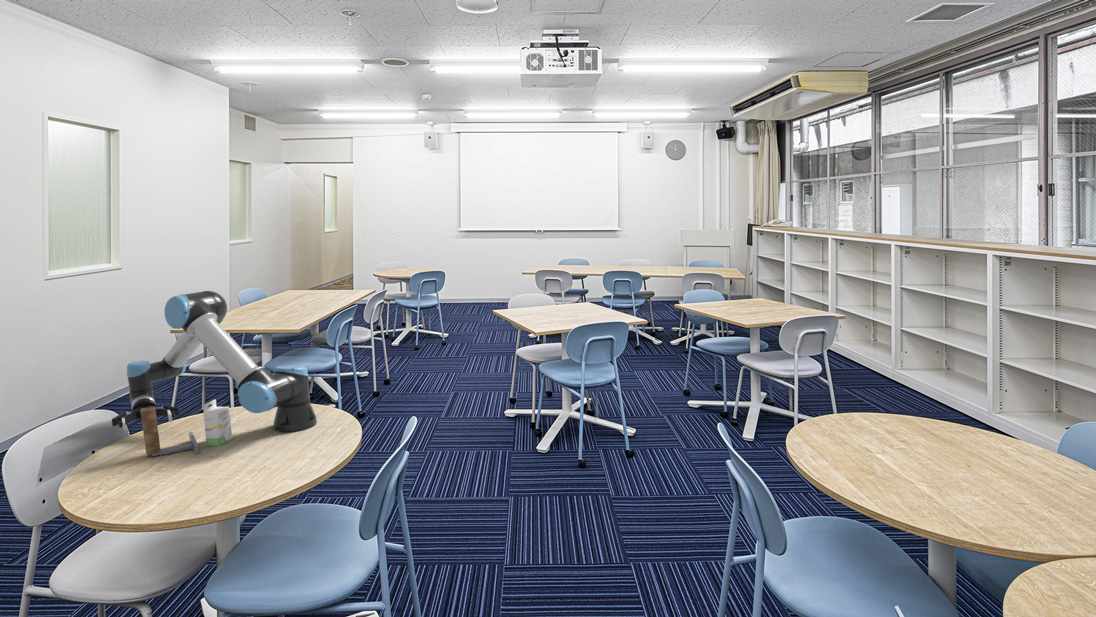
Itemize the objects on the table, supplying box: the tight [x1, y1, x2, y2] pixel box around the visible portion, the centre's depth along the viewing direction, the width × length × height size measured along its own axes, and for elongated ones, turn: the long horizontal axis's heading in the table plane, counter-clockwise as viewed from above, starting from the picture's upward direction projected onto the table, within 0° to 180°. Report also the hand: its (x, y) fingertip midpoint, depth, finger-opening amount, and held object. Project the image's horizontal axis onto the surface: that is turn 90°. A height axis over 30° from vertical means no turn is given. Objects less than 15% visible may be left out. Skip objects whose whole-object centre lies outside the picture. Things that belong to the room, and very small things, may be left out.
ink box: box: [203, 398, 233, 447], centre depth 220 cm, size 9×5×15 cm, turn 179°
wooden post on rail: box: [141, 406, 200, 457], centre depth 211 cm, size 14×16×16 cm
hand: (147, 422), depth 216 cm, fingers open, 13 cm apart
